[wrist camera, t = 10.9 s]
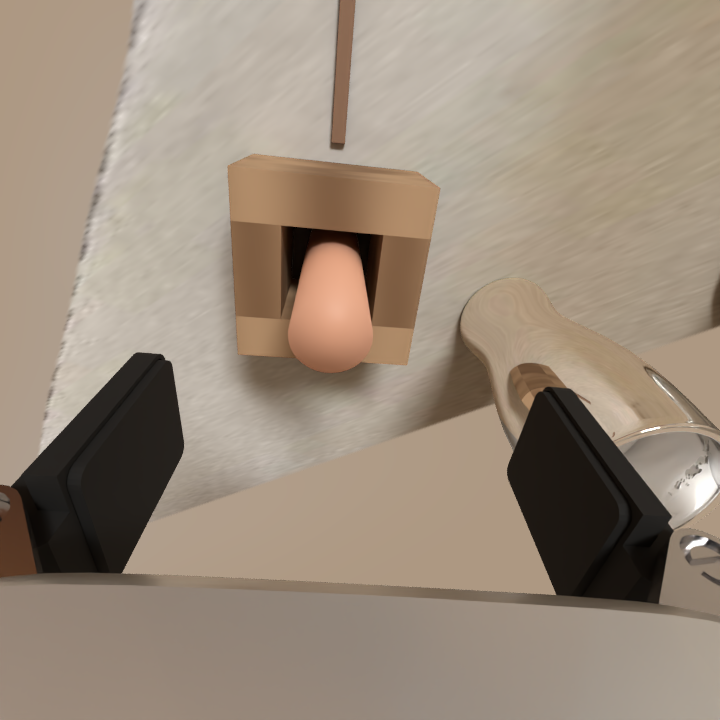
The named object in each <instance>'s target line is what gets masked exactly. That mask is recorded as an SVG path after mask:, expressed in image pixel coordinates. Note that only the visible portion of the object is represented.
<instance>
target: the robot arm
mask: <svg viewBox="0 0 720 720" xmlns="http://www.w3.org/2000/svg"><path fill="white" fill-rule="evenodd" d="M183 450H184V439H183V433H182V426H181V420H180V413H179V407H178V400H177V394H176V387H175V380H174V374H173V367H172V363H171V362H170V361H166V360H165V358H164V356H163V355H161V354H152V353H140V352H138V353H135V354H134V355H133V356H132V357H131V358H130V359H129V360H128V361H127V362H126V363H125V364H124V365H123V367H122V368H121V369H120V370H119V371H118V372H117V373H116V374H115V375H114V376H113V377H112V378H111V379H110V380H109V382H108V383H107V384H106V385H105V386H104V387H103V388H102V389H101V390H100V391H99V392H98V393H97V394H96V395H95V397H94V398H93V399H92V400H91V401H90V402H89V403H88V404H87V405H86V406H85V407H84V408H83V409H82V410H81V412H80V413H79V414H78V415H77V416H76V417H75V418H74V419H73V420H72V421H71V422H70V423H69V424H68V425H67V426H66V428H65V429H64V430H63V431H62V432H61V433H60V434H59V435H58V436H57V437H56V438H55V439H54V440H53V441H52V443H51V444H50V445H49V446H48V447H47V448H46V449H45V450H44V451H43V452H42V453H41V454H40V455H39V456H38V458H37V459H36V460H35V461H34V462H33V463H32V464H31V465H30V466H29V467H28V468H27V469H26V470H25V471H24V473H23V474H22V475H21V477H20V478H19V479H18V480H17V481H16V482H15V483H14V484H13V485H12V486H11V487H10V486H6V485H0V720H720V539H719V538H717V537H715V536H713V535H710V534H708V533H705V532H703V531H699V530H695V529H691V528H680V529H678V530H676V531H674V530H673V529H672V528H671V526H670V525H669V524H668V522H669V521H670V519H671V518H672V515H671V514H670V513H669V512H668V510H667V509H666V508H665V507H664V505H663V504H662V503H661V502H660V500H659V499H658V498H657V496H656V495H655V494H654V493H653V491H652V490H651V489H650V488H649V486H648V485H647V484H646V483H645V481H644V480H643V479H642V477H641V476H640V475H639V474H638V472H637V471H636V470H635V469H634V467H633V466H632V465H631V464H630V462H629V461H628V460H627V458H626V457H625V456H624V455H623V453H622V452H621V451H620V450H619V448H618V447H617V446H616V445H615V443H614V442H613V441H612V439H611V438H610V437H609V436H608V434H607V433H606V432H605V431H604V429H603V428H602V427H601V426H600V424H599V423H598V422H597V420H596V419H595V418H594V417H593V415H592V414H591V413H590V412H589V410H588V409H587V408H586V407H585V405H584V404H583V403H582V401H581V400H580V399H579V398H578V396H577V395H576V394H575V393H574V391H573V390H571V389H569V388H560V387H546V388H545V389H544V390H543V391H540V392H538V393H537V394H536V396H535V398H534V401H533V403H532V406H531V408H530V411H529V413H528V416H527V419H526V421H525V424H524V426H523V429H522V431H521V434H520V436H519V439H518V441H517V444H516V446H515V449H514V452H513V454H512V457H511V459H510V462H509V464H508V468H507V476H508V480H509V482H510V485H511V487H512V489H513V492H514V494H515V497H516V499H517V501H518V504H519V506H520V509H521V511H522V513H523V516H524V518H525V521H526V523H527V525H528V528H529V530H530V532H531V535H532V537H533V539H534V542H535V544H536V547H537V549H538V552H539V554H540V556H541V559H542V561H543V563H544V566H545V568H546V571H547V573H548V575H549V578H550V580H551V583H552V585H553V587H554V590H555V592H556V595H543V594H525V593H508V592H492V591H474V590H455V589H440V588H421V587H401V586H383V585H363V584H345V583H326V582H305V581H286V580H264V579H243V578H222V577H201V576H178V575H150V574H149V575H148V574H121V573H122V572H123V570H124V568H125V566H126V564H127V562H128V560H129V558H130V556H131V554H132V552H133V550H134V548H135V546H136V544H137V543H138V541H139V539H140V537H141V535H142V533H143V531H144V529H145V527H146V525H147V523H148V521H149V519H150V517H151V515H152V513H153V511H154V509H155V507H156V506H157V504H158V502H159V500H160V498H161V496H162V494H163V492H164V490H165V488H166V486H167V484H168V482H169V480H170V478H171V476H172V474H173V472H174V470H175V469H176V467H177V465H178V463H179V461H180V459H181V457H182V454H183Z"/></svg>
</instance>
